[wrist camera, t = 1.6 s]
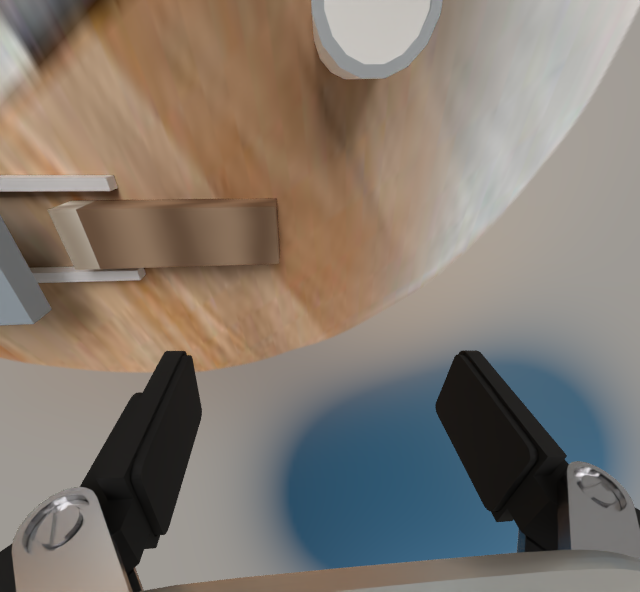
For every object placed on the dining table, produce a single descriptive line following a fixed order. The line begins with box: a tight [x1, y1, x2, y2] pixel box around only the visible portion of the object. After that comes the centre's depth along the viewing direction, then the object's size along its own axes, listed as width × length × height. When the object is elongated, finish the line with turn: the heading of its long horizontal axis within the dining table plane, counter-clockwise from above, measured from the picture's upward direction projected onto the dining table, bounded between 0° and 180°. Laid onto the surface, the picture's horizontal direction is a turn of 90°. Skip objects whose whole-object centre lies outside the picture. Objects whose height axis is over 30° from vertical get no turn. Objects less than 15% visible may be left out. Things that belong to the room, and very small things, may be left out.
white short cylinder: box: [311, 0, 443, 79], centre depth 18 cm, size 7×7×7 cm
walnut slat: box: [48, 198, 280, 270], centre depth 25 cm, size 17×5×3 cm, turn 89°
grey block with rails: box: [0, 175, 146, 325], centre depth 23 cm, size 15×10×7 cm, turn 89°
